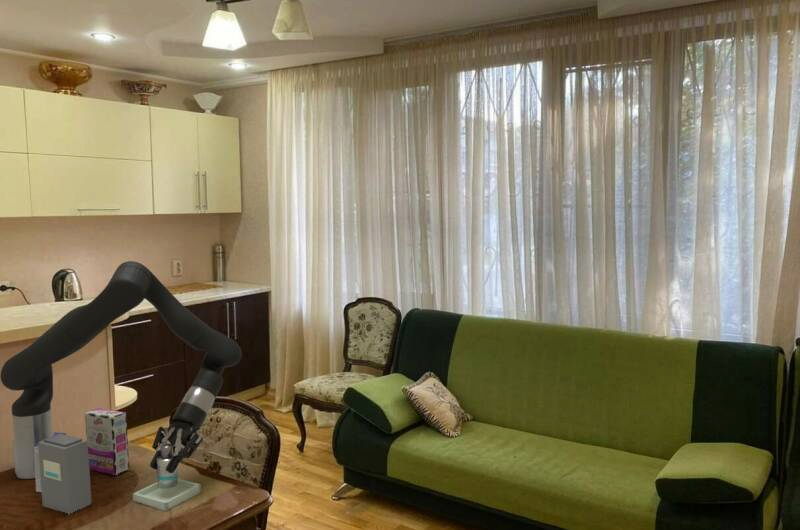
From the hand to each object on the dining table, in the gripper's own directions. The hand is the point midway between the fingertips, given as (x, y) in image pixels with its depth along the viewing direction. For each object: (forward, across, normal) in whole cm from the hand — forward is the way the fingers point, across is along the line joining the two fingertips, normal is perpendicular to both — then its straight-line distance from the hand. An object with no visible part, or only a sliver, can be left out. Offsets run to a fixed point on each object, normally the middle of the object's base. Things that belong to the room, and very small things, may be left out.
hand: (160, 469), depth 160 cm
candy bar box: (+1, +28, -10) cm, 30 cm away
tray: (+4, 0, -7) cm, 8 cm away
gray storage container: (+14, +19, +3) cm, 24 cm away
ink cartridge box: (+11, +29, 0) cm, 31 cm away
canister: (+2, 0, -5) cm, 5 cm away
